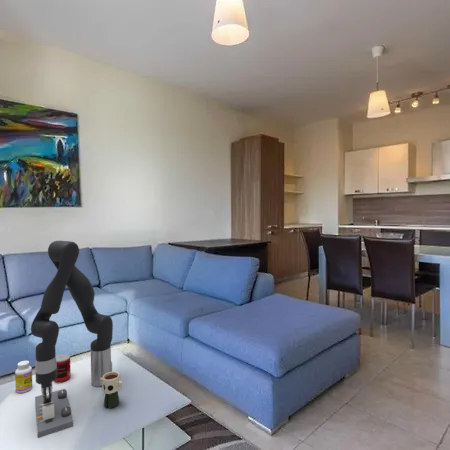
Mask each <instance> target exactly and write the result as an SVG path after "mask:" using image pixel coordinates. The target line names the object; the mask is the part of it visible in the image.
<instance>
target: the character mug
mask: <svg viewBox="0 0 450 450" xmlns="http://www.w3.org/2000/svg"><path fill="white" fill-rule="evenodd" d="M100 384H101V385H102V386H101V387H102V391H103V393H104V400H103V401H104V402H103V404H104V405H103V407H105V408H109V409H110V408H114V407H116V406H117V405H118V404H119V403H120V397H119V390H122V389H123V386H124V385H123V381H122V380H121V375H120V372H118V371H115V370H114V371H113V370H112V372H108V373H106V374H104V375H103V378H101V379H100Z"/></svg>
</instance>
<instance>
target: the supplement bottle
mask: <svg viewBox="0 0 450 450" xmlns="http://www.w3.org/2000/svg"><path fill="white" fill-rule="evenodd" d="M14 376H15V381H14V382H15V383H14V384H15V392H16V393H18V394H22V393H23V394H24V393H26V392H29V391H31V389H33V368H32V366H31V365H30V361H29V360H22V361H19V362H18V363H17V369H15V371H14Z"/></svg>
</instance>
